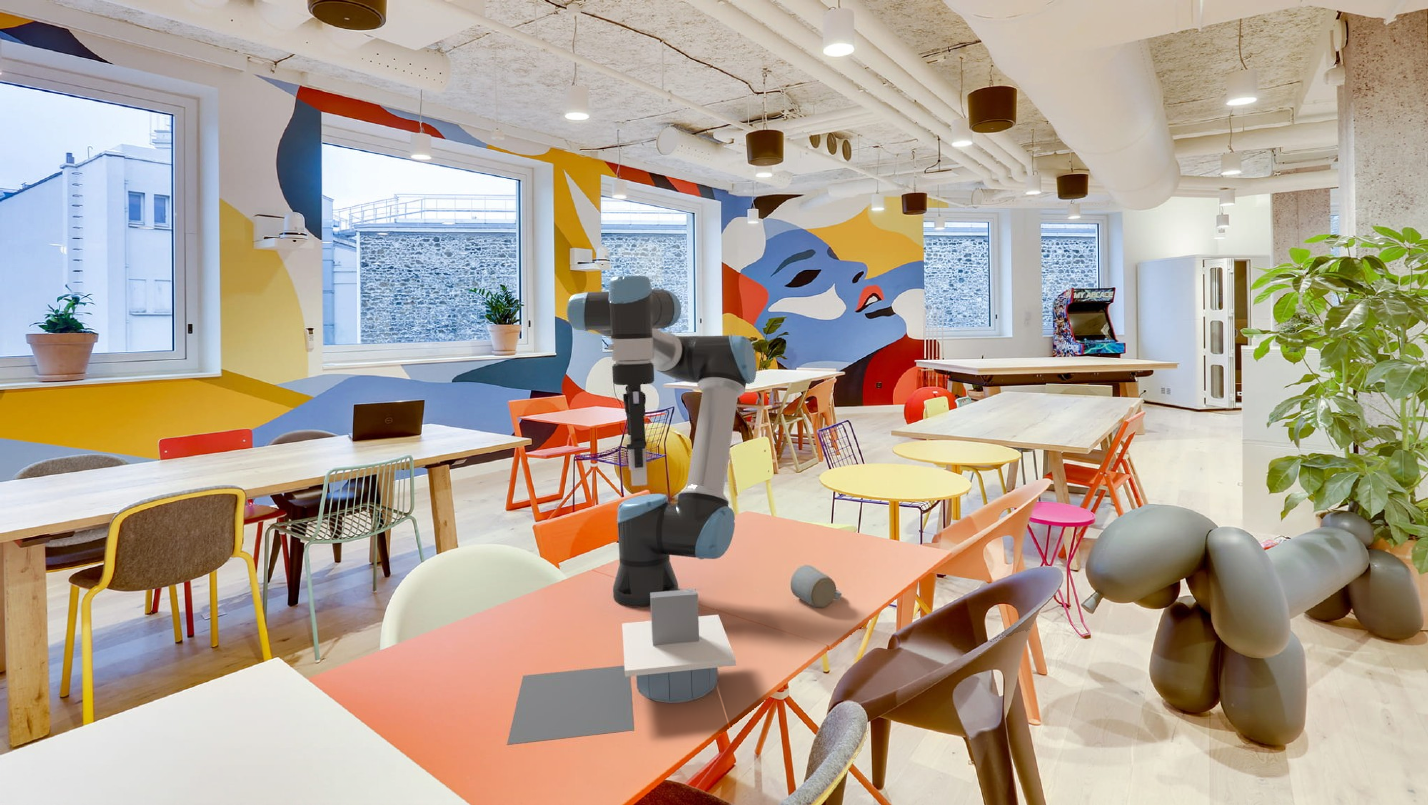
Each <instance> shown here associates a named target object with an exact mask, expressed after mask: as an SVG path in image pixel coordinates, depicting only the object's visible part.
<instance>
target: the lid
mask: <svg viewBox="0 0 1428 805" xmlns="http://www.w3.org/2000/svg"><path fill="white" fill-rule="evenodd" d="M698 595H699V594H698V591H697V588H690V589H689V588H688V589H678V590H676V591H664V592H653V593H650V602H651V606H650V620H645V621H632V622H624V623H623V622H622V623H621V628H622V629H621V630H622V632H621V633H622V643H623V644H622V647H623V662H624V663H623V666H624V667H625V677H628V676H630V677H636V676H638V675H647V674H657V673H667V672H677V671H686V670H696V669H706V668H716V667H718V668H722V667H723V668H725V667H732V666H737V660H736V656H735V654H734V652H733V649H732V647H731V644H730V640H729V638H728V635H727V633H726V630H725V629H724V626H723V623H722V621H721V618H720V616H719V614H711V615H701V616H700V615H699V596H698Z"/></svg>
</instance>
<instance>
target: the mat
mask: <svg viewBox="0 0 1428 805" xmlns="http://www.w3.org/2000/svg"><path fill="white" fill-rule="evenodd" d="M631 680H632V679H631V676H628V677H625V667H624V665H615V666H606V667H605V666H604V667H596V668H594V667H593V668H584V669H576V670H575V669H574V670H566V671H556V672H546V673H536V674H526V675H525V674H524V675H522V679H521V683H520V687H519V691H518V696H517V701H516V704H515V709H514V712H513V716H512V722H511V725H510V731H509V734H508V735H509V736H508V739H507V743H506V746H508V745H517V744H526V743H535V742H543V741H553V740H562V739H569V738H570V739H571V738H579V737H588V736H597V735H605V734H614V733H622V732H631V731H632V732H633V731H635V724H634V723H635V722H634V710H633V696H632V683H631Z"/></svg>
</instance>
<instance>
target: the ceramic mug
mask: <svg viewBox="0 0 1428 805" xmlns="http://www.w3.org/2000/svg"><path fill="white" fill-rule="evenodd" d="M790 590H791V592H792V594H793V595H794V596H795V598H798V599H800V600H801V601H803V602H805V603H807V604H809V605H810V606H813V607H815V608H819V609H823V608H826V607H828V606H829V605H830V604H831V603H833V601H834V600H836V601H837V600H838V601H839V600H840V599H841V598H842V597H841V596H842V592H841V591H839V590H838V589H837V586H836V583H835V581H834V580H833V578H831V577H830V576H829V575H827V574H825V573H824V572H822V571H820V570H819V569H817V568H816V567H814V566H812V565H810V564H803V565H801V566H800V567H798V568H797V569H796V570H795V571H794V572H793V574H792V576H791V579H790Z"/></svg>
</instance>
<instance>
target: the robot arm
mask: <svg viewBox="0 0 1428 805" xmlns="http://www.w3.org/2000/svg"><path fill="white" fill-rule="evenodd" d="M608 284H609V285H608V291H586V292H581V293H575V294H573V295H571V296H570V298H569V300H568V301H567V308H566V317H567V320H568V323H569V324H570V325H571V327H572V328H573V329H574V330H577V331H584V332H588V331H594V332H596V333H598V334H600V335H602V336H604V337H605V338H608V339H609V340H611V343H612V344H608V346H607V349H608V350H610V351H611V360H612V361H613V362H615V363H614V364H613V365H612V368H611V369H612V383H613V384H614V385H616V386H625V393H623V394H622V398H623V400H622V401H623V405H624V412H625V417H626V424H627V426H626V430H627V431H626V434H627V435H628V436H627V443H626V450H627V456H628V470H629V471H630V478H631V479H630V480H631V487H637V486H647V485H648V474H647V470H648V469H647V468H648V467H647V450H646V447H647V441H646V428H645V427H646V425H645V416H646V401H647V400H646V398H647V397H646V394H645V392H643V391H642V389H641V388H642V386H641V385H650V384H653V383H654V382H655V370H656V371H658V372H659V373H661V374H663V375H666V376H668V377H670V378H673V379H675V380H678V381H682V382H687V383H690V384H691V383H696V384H697V385H696V386H697V387H698V389H699V390H700V391H701V398H700V404H699V408H698V409H699V410H698V416H697V422H696V429H695V434H694V440H693V447H692V450H691V458H690V463H689V464H690V465H689V470H688V476H687V481H686V487H685V488H684V489H683V490H681V491H679V492H678V495H677V499H676V500H677V501H676V502H673V503H672V502H669V498H668V496H667V494H663V493H649V494H643V495H638V496H635V497H634V496H633V497H630V498H627V499H625V500H624V501H621V503H619V505H618V507H617V519H616V523H617V535H618V536H617V537H618V538H617V540H618V554H619V555H618V556H619V557H618V558H619V564H618V565H619V566H618V569H617V572H616V577H615V580H614V583H613V586H612V594H613V599H614V601H615V602H616V603H618V604H621V605H623V606H626V607H636V608H646V607H647V608H649V607H651V602H650V593H653V592H664V591H676V590H679V583H678V579H677V577H676V574H675V572H674V568H673V567H672V563H671V561H670V560H671V558H670V556H676V557H686V558H696V559H699V560H704V559H706V560H717V559H720V558H721V557H722V556H724V555H725V553H726V552H727V551H728V549H729V548H730V545H731V542H732V540H733V537H734V532H735V526H736V522H735V519H736V518H735V517H736V516H735V512H734V510H733V508H731V507H729V504H730V502H729V501H730V500H728V498H727V497H726V495H725V494H724V492H725V484H726V477H727V471H728V465H729V459H730V458H729V457H730V451H731V450H730V449H731V444H732V437H733V430H734V424H735V417H736V410H737V405H738V403H737V402H738V398H739V397H741V396H743V395H744V394H745V392H746V386H747V384H748V385H750V384H753V383H754V382H755V380H756V376H757V358H756V354H755V349H754V346H753V344H752V342H751V340H750V339H749V338H748V337H746V336H744V335H735V334H734V335H733V334H729V335H687V336H683V335H675V334H674V333H671V332H669V331H668V332H663V331H662V330H663V329H666V328H671V327H673V326H674V325H675V324H676V323H677V322H678V320H679V319H680V317H681V313H682V305H681V301H680V300H679V298H678V297H677V295H676V294H674V292H672V291H669V290H667V289H665V288H664V289H663V288H660V289H658V288H657V289H655V288H653V289H652V285H651V280H650V278H649V277H648V276H646V275H619V276H613V277H612V278H611V279H610V280H609V282H608ZM661 329H662V330H661Z"/></svg>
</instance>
